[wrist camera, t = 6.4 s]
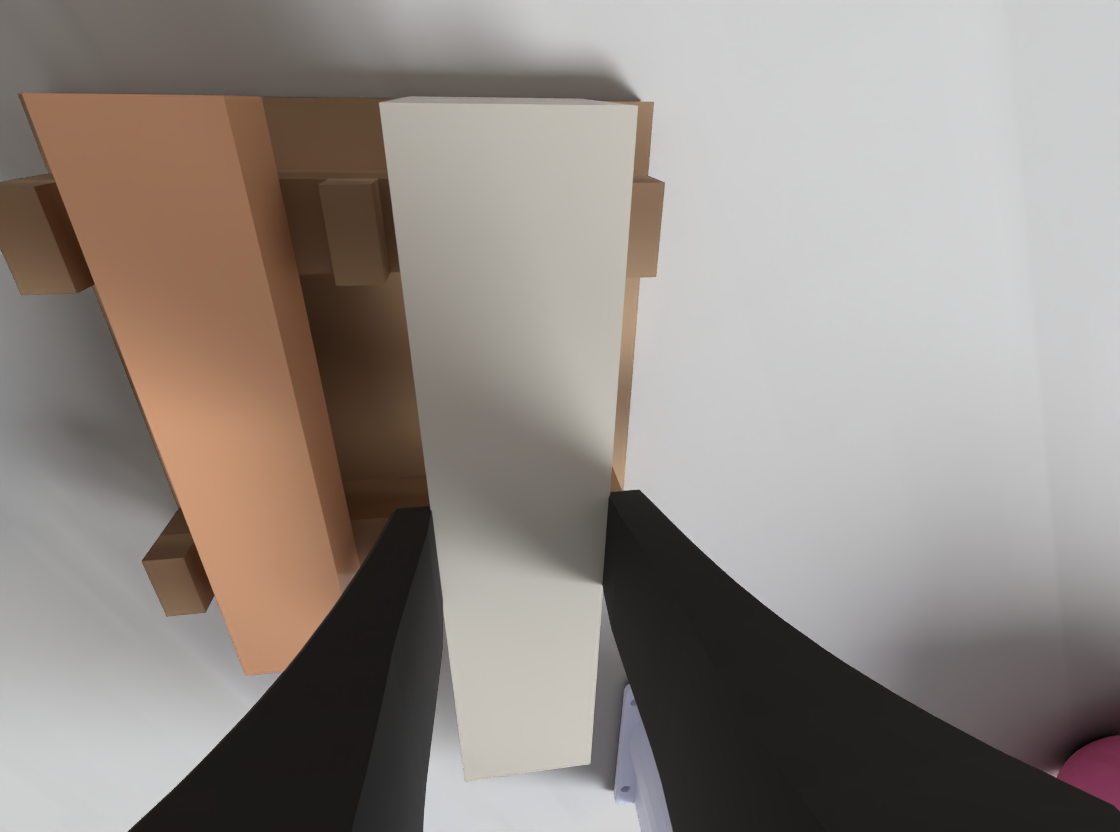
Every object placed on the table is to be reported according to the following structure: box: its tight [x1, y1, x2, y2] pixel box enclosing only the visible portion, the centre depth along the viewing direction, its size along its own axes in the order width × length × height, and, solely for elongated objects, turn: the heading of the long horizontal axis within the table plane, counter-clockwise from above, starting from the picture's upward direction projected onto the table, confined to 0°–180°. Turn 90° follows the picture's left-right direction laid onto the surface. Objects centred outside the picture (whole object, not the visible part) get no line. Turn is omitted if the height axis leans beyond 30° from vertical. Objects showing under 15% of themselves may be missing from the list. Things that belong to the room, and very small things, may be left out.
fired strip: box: [22, 93, 360, 676], centre depth 13 cm, size 14×3×2 cm, turn 178°
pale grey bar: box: [379, 96, 638, 782], centre depth 12 cm, size 14×3×4 cm, turn 178°
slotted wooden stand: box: [0, 94, 665, 616], centre depth 16 cm, size 14×14×4 cm
